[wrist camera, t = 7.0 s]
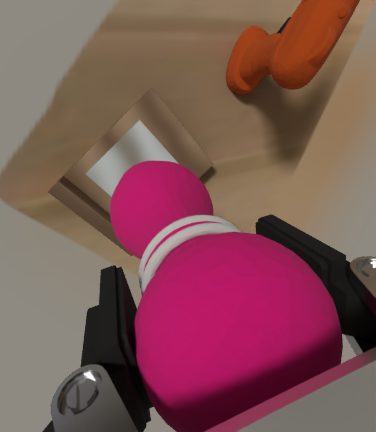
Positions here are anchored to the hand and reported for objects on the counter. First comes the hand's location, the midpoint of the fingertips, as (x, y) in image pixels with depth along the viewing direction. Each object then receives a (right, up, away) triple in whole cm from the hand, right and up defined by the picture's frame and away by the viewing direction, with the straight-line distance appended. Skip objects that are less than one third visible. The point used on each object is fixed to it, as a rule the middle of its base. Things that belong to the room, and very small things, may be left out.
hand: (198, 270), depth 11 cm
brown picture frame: (-7, +8, +22) cm, 25 cm away
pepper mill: (-4, +4, +12) cm, 13 cm away
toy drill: (+9, +26, +21) cm, 35 cm away
